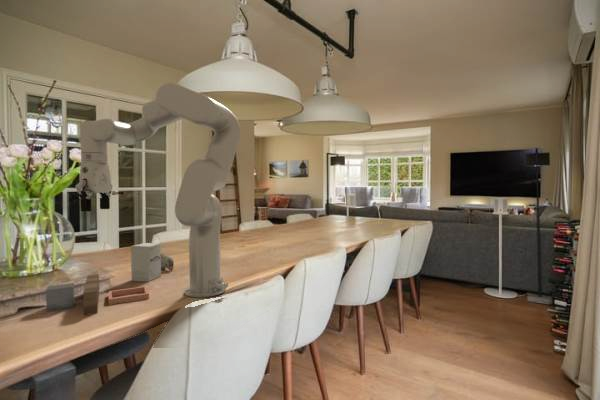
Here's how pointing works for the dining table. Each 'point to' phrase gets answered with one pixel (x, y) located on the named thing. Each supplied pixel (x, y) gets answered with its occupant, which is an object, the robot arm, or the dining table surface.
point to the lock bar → (60, 297)
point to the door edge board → (91, 294)
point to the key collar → (128, 298)
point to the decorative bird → (166, 262)
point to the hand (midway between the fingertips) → (95, 210)
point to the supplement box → (146, 261)
